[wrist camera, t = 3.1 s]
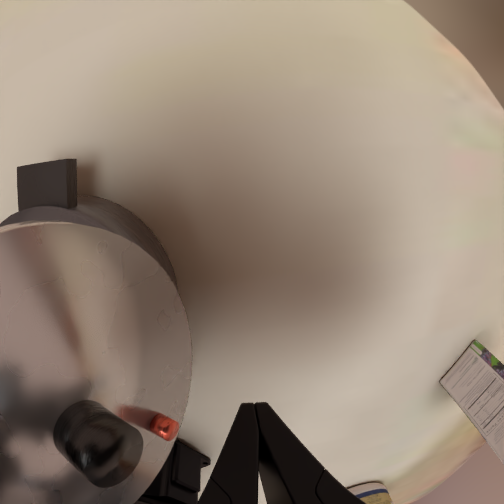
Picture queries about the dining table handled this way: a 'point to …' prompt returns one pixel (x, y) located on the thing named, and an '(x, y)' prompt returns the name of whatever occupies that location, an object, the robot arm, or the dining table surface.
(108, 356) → the cooker lid
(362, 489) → the supplement tub
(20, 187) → the cooker pot
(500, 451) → the syrup box
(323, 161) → the dining table surface
